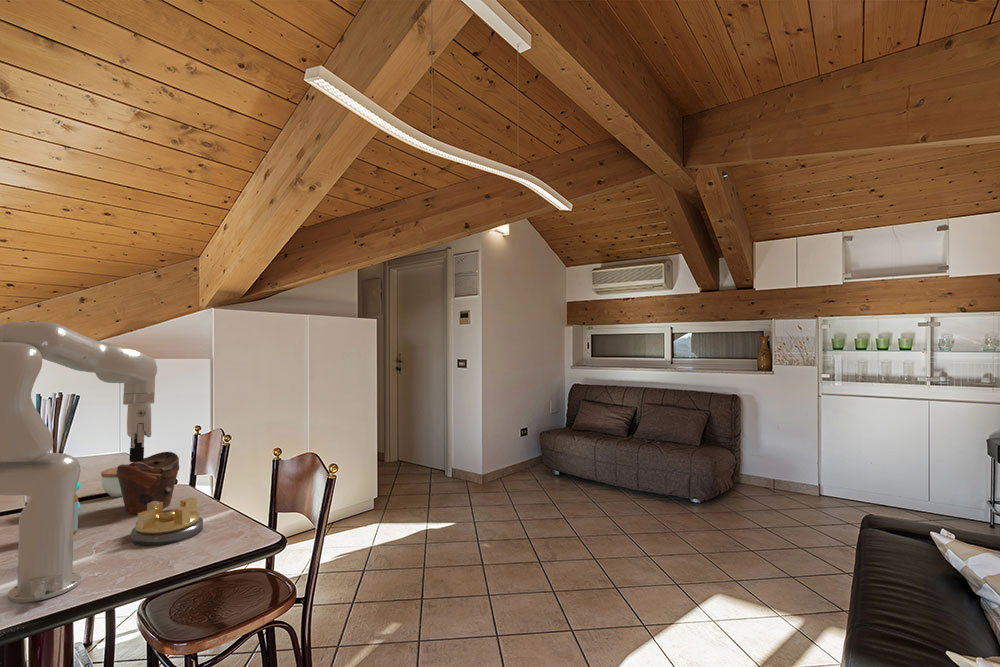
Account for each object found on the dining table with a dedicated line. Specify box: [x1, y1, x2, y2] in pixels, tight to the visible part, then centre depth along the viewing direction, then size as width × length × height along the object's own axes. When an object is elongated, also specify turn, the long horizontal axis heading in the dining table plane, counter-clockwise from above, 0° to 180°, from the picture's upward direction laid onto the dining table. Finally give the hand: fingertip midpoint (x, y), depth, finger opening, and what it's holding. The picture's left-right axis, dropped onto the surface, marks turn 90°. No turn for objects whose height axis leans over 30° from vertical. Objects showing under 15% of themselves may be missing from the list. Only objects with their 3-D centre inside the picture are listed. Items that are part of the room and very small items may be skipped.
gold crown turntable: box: [134, 497, 200, 535], centre depth 150 cm, size 16×16×6 cm
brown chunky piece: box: [116, 451, 180, 515], centre depth 173 cm, size 18×20×18 cm
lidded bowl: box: [100, 463, 125, 498], centre depth 189 cm, size 13×13×11 cm
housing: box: [130, 516, 204, 547], centre depth 150 cm, size 18×18×6 cm
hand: (136, 461), depth 147 cm, fingers closed
